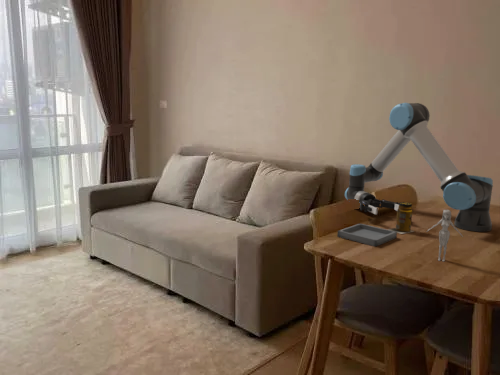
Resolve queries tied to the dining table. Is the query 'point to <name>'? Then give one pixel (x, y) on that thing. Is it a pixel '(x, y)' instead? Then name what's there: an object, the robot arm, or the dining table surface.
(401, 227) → the condiment
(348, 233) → the holder
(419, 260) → the dining table surface
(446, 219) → the human figurine
